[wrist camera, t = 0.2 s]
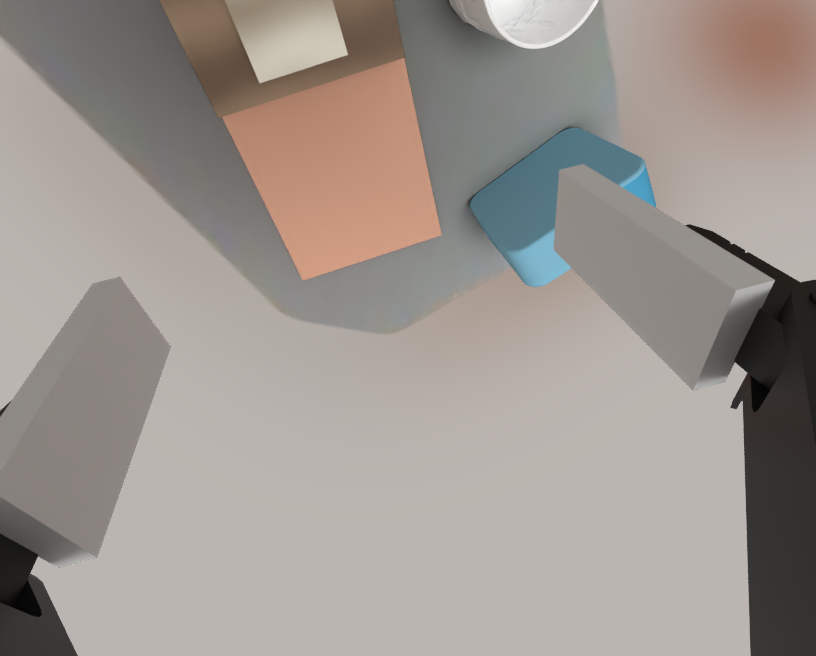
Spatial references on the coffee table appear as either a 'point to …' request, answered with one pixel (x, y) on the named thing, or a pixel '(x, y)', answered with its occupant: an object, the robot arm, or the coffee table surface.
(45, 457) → the robot arm
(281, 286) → the coffee table surface
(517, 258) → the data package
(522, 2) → the white cup
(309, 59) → the birch tile
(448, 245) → the coffee table surface
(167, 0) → the block
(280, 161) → the terracotta mat
